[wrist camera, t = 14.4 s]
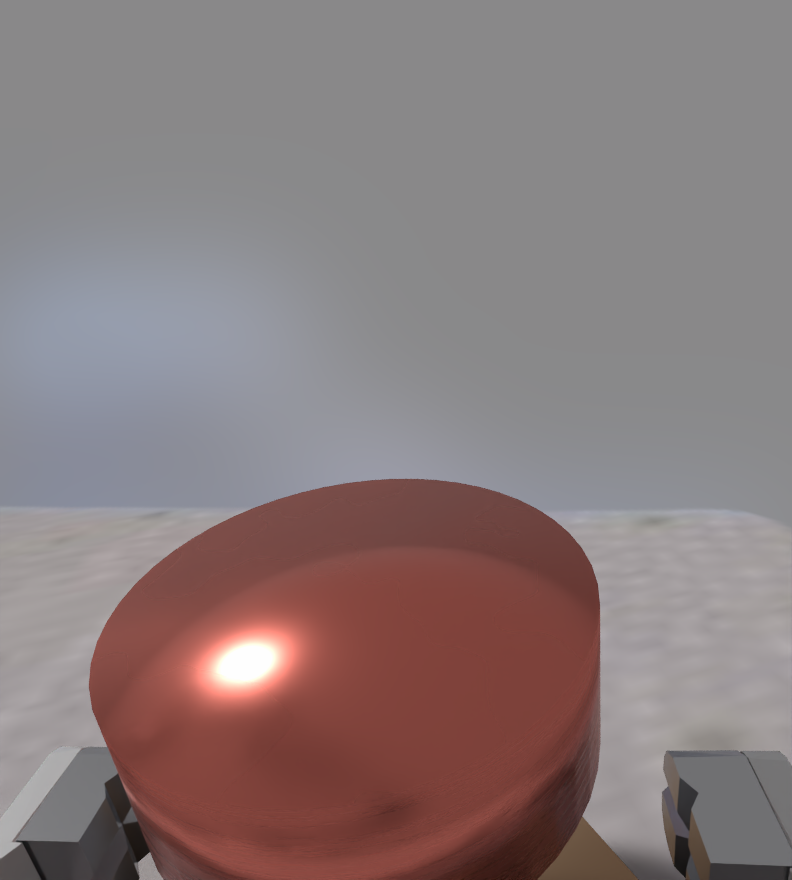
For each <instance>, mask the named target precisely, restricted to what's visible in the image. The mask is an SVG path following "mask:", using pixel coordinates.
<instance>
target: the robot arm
mask: <svg viewBox="0 0 792 880" xmlns="http://www.w3.org/2000/svg"><path fill="white" fill-rule="evenodd" d="M663 770H664V773H665V776H666V779H667V782H668V787H667V788H666V789H665V790H664V791H663V792H662V813H663V821H664V830H665V834H666V838H667V843H668V847H669V851H670V854H671V857H672V861H673V864H674V867H675V868H676V869H677V870H678V871H679V872H680V873H681V874H682V875H683V876H684V877H685V878H686V880H792V766H791V764H790V762H789V761H788V759H787V757H785V756H784V755H783V754H782V753H781V752H780V751H740V752H739V751H737V750H716V751H666V754H665V756H664V766H663ZM149 852H150V850H149V848H148V846H147V843H146V841H145V838H144V836H143V833H142V831H141V828H140V826H139V823H138V821H137V818H136V816H135V814H134V811H133V809H132V806H131V804H130V801H129V799H128V796H127V794H126V791H125V789H124V786H123V784H122V781H121V779H120V777H119V774H118V772H117V769H116V767H115V764H114V762H113V759H112V757H111V754H110V752H109V749H108V747H69V746H61V747H59V748H58V749H56V750H54V751H53V752H51V753H50V754H49V755H48V757H47V758H46V759H45V761H44V762H43V763H42V764H41V766H40V767H39V768H38V770H37V771H36V772H35V774H34V775H33V776H32V778H31V779H30V780H29V782H28V783H27V784H26V785H25V787H24V788H23V789H22V791H21V792H20V793H19V795H18V796H17V797H16V799H15V800H14V801H13V802H12V804H11V805H10V806H9V808H8V809H7V810H6V812H5V813H4V814H3V816H2V817H1V818H0V880H139V869H138V862H139V861H140V860H141V859H142V858H143V857H145V856H146V855H147V854H148V853H149Z"/></svg>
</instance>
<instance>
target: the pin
mask: <svg viewBox="0 0 792 880" xmlns="http://www.w3.org/2000/svg"><path fill="white" fill-rule="evenodd" d="M89 691H90V697H91V704H92V710H93V712H94V715H95V717H96V720H97V722H98V725H99V727H100V730H101V732H102V735H103V737H104V740H105V742H106V745H107V747H108V749H109V752H110V754H111V757H112V759H113V762H114V764H115V767H116V769H117V772H118V774H119V777H120V779H121V781H122V784H123V786H124V789H125V791H126V794H127V796H128V799H129V801H130V804H131V806H132V809H133V811H134V814H135V816H136V818H137V821H138V823H139V826H140V828H141V831H142V833H143V836H144V838H145V841H146V843H147V846H148V848H149V850H150V853H151V855H152V858H153V860H154V862H155V865H156V867H157V870H158V872H159V873H160V875H161V876H162V878H163V879H164V880H537V879H538V878H539V877H540V876H541V875H542V874H543V873H544V872H545V871H546V869H547V868H548V867H549V866H550V865H551V864H552V863H553V862H554V861H555V860H556V858H557V857H558V856H559V854H560V853H561V851H562V850H563V848H564V847H565V845H566V844H567V842H568V841H569V839H570V838H571V836H572V835H573V833H574V832H575V830H576V829H577V826H578V824H579V822H580V820H581V818H582V815H583V813H584V811H585V809H586V807H587V804H588V802H589V800H590V797H591V793H592V790H593V786H594V782H595V778H596V775H597V771H598V762H599V752H600V601H599V591H598V583H597V580H596V577H595V574H594V571H593V568H592V565H591V563H590V562H589V560H588V558H587V556H586V555H585V553H584V551H583V549H582V548H581V547H580V545H579V544H578V543H577V542H576V541H575V539H574V538H573V537H572V536H571V535H570V534H569V532H567V531H566V530H565V529H564V528H563V527H562V526H560V525H559V524H558V523H557V522H556V521H555V520H553V519H552V518H550V517H549V516H547V515H546V514H544V513H543V512H541V511H539V510H538V509H536V508H534V507H532V506H530V505H528V504H526V503H524V502H522V501H520V500H518V499H515V498H512V497H510V496H507V495H504V494H501V493H499V492H495V491H492V490H488V489H485V488H481V487H477V486H472V485H467V484H461V483H456V482H447V481H439V480H424V479H386V480H371V481H362V482H353V483H346V484H340V485H334V486H329V487H323V488H319V489H315V490H311V491H306V492H302V493H298V494H295V495H292V496H288V497H285V498H281V499H278V500H275V501H272V502H270V503H267V504H264V505H261V506H258V507H255V508H253V509H251V510H248V511H246V512H243V513H241V514H239V515H236V516H234V517H232V518H230V519H228V520H226V521H224V522H222V523H220V524H218V525H216V526H214V527H212V528H210V529H208V530H207V531H205V532H203V533H201V534H200V535H198V536H196V537H194V538H193V539H191V540H190V541H188V542H187V543H185V544H184V545H182V546H181V547H179V548H178V549H176V550H175V551H173V552H172V553H171V554H169V555H168V556H167V557H166V558H164V559H163V560H162V561H161V562H159V563H158V564H157V565H155V566H154V567H153V568H152V569H151V570H150V571H149V572H148V573H147V574H146V575H145V576H143V577H142V578H141V579H140V580H139V581H138V582H137V583H136V584H135V585H134V586H133V588H132V589H131V590H130V591H129V592H128V593H127V595H126V596H125V597H124V598H123V599H122V600H121V602H120V603H119V604H118V606H117V607H116V609H115V610H114V612H113V613H112V615H111V616H110V618H109V619H108V621H107V623H106V625H105V627H104V629H103V631H102V633H101V635H100V637H99V639H98V641H97V644H96V648H95V651H94V655H93V658H92V661H91V667H90V679H89Z"/></svg>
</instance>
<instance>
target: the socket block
mask: <svg viewBox="0 0 792 880" xmlns="http://www.w3.org/2000/svg"><path fill="white" fill-rule="evenodd" d="M537 880H638V879H637V877H636V876H635V875H634V874H633V873H632V872H631V871H630V870H629V869H628V867H627V866H626V865H625V864H624V863H623V862H622V861H621V860H620V858H619V857H618V856H617V855H616V854H615V853H614V852H613V851H612V849H611V848H610V847H609V846H608V845H607V844H606V843H605V842H604V840H603V839H602V838H601V837H600V836H599V835H598V834H597V833H596V832H595V830H594V829H593V828H592V827H591V826H590V825H589V824H588V823H587V821H586V820H585V819H584V818H583V817H582V818H581V820H580V822H579V824H578V826H577V829H576V830H575V832H574V833H573V835H572V836H571V838H570V839H569V841H568V842H567V844H566V845H565V847H564V848H563V850H562V851H561V853H560V854H559V856H558V857H557V858H556V860H555V861H554V862H553V863H552V864H551V865H550V866H549V867H548V868H547V869H546V871H545V872H544V873H543V874H542V875H541V876H540V877H539V878H538V879H537Z"/></svg>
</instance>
